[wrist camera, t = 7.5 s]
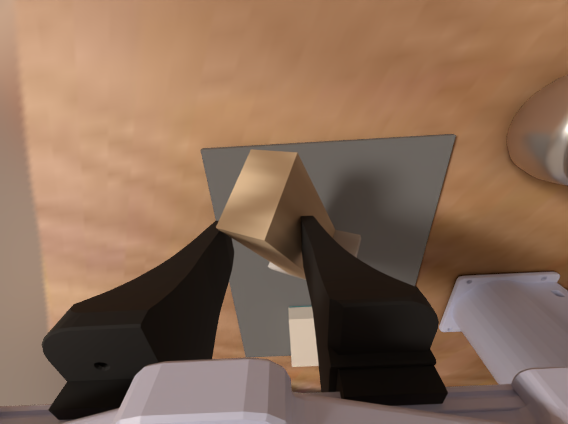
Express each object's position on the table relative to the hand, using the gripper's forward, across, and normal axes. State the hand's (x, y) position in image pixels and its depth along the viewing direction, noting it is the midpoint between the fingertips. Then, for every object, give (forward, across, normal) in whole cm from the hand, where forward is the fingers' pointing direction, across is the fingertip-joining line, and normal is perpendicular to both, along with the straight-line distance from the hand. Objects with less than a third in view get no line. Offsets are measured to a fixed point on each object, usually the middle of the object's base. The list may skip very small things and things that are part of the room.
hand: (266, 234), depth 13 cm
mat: (+8, -4, +10) cm, 13 cm away
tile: (+6, -4, +14) cm, 16 cm away
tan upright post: (+3, -2, 0) cm, 4 cm away
